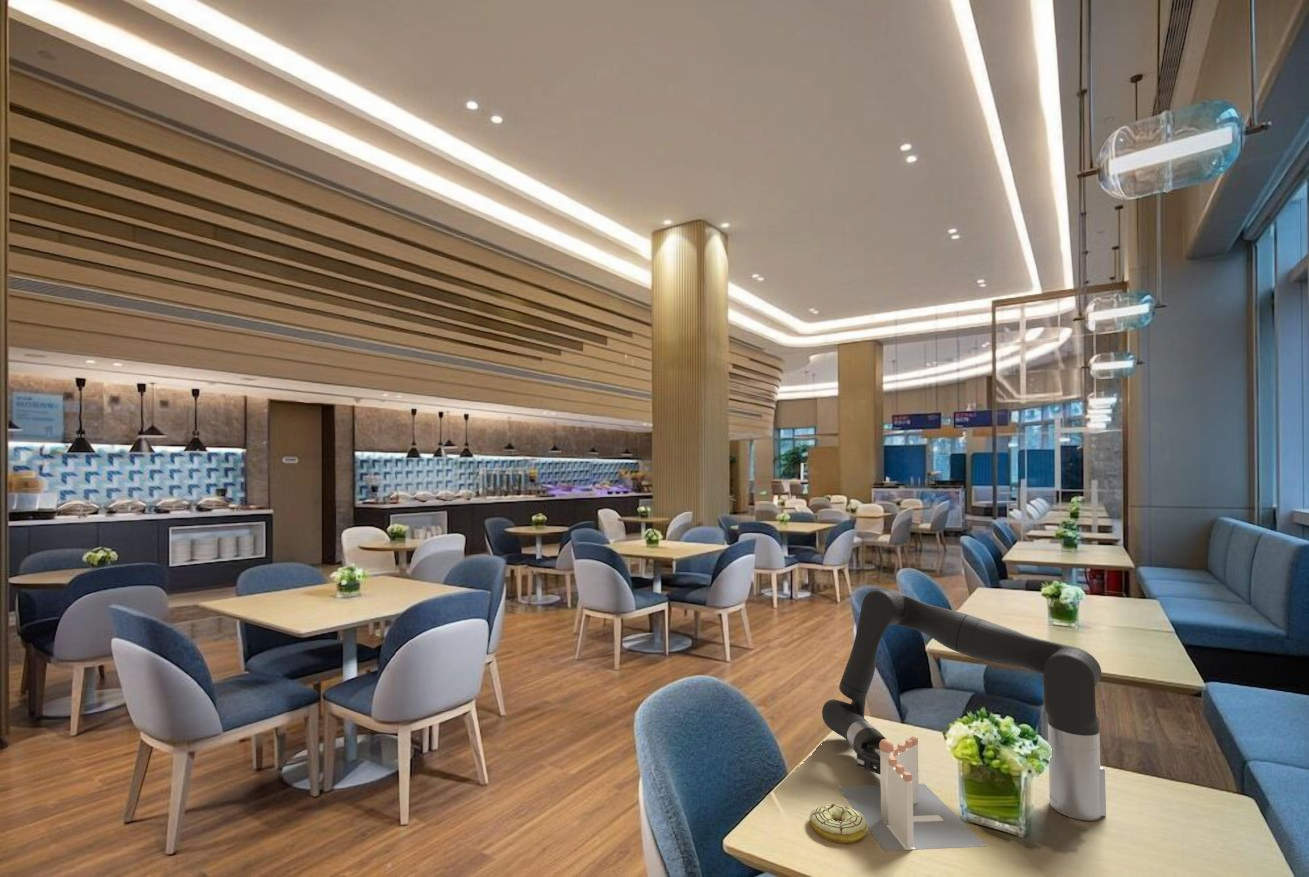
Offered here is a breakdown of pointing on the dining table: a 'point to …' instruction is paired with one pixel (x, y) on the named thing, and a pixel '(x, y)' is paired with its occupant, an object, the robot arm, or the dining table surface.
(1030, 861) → the dining table surface
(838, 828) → the decorated donut
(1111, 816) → the dining table surface
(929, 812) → the card
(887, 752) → the fence post and fixed panel
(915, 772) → the white crenellated wall panel
